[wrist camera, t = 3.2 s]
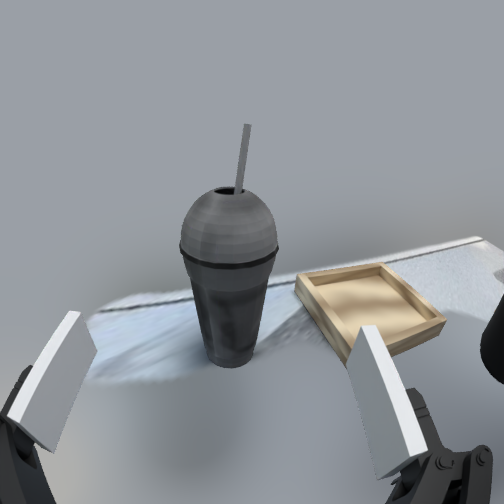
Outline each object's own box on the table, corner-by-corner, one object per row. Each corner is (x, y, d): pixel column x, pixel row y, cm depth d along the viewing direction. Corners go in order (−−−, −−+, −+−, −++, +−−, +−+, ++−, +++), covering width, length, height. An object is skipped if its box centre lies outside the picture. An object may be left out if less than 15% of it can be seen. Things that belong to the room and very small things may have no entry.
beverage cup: (183, 335, 27) (164, 125, 18) (247, 318, 30) (255, 122, 21) (207, 390, 21) (189, 126, 12) (281, 364, 24) (312, 129, 15)
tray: (438, 335, 27) (447, 319, 25) (349, 373, 23) (356, 356, 22) (378, 276, 38) (382, 261, 37) (294, 290, 35) (296, 274, 34)
